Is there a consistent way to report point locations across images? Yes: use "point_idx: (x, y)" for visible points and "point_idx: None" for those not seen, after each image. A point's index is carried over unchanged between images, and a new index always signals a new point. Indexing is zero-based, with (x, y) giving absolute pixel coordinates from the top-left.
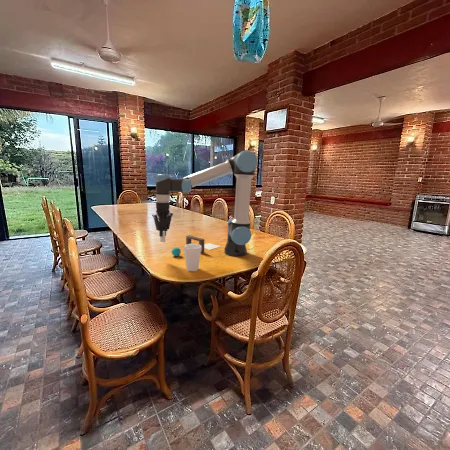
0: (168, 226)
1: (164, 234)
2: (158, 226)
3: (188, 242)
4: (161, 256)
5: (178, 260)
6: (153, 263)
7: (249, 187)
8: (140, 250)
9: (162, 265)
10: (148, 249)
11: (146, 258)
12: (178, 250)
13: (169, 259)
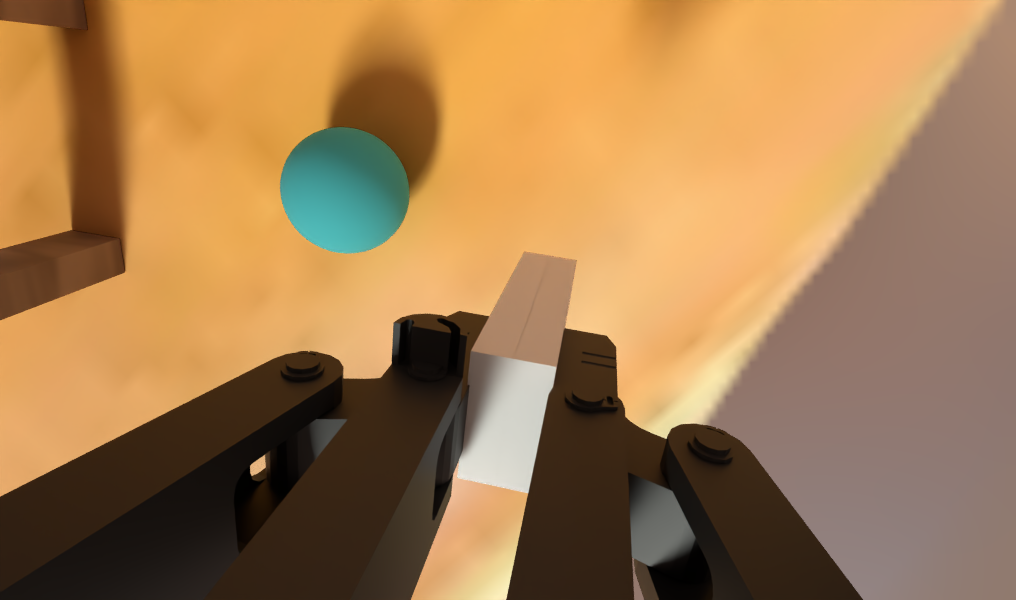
0: (259, 407)
1: (519, 317)
2: (823, 577)
3: (30, 263)
4: None
5: (466, 31)
6: (739, 212)
7: None
8: (503, 592)
9: (737, 61)
10: (431, 557)
11: (650, 394)
12: (336, 140)
13: (512, 159)
